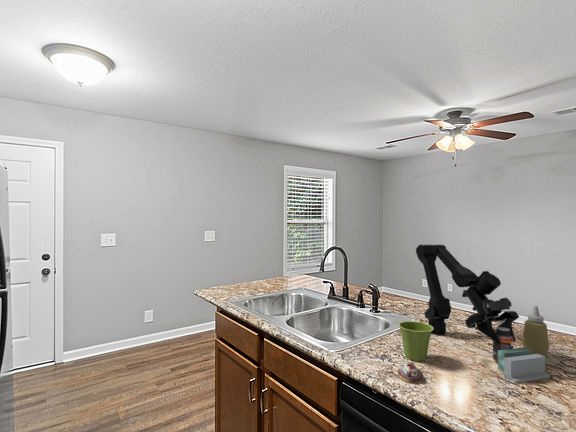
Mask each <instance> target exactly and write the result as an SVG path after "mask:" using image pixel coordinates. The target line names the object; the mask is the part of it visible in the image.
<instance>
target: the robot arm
mask: <svg viewBox="0 0 576 432" xmlns="http://www.w3.org/2000/svg"><path fill="white" fill-rule="evenodd" d="M415 253H416V256H417V259H418V260H419V261H420V263H422V265H423V269H424V273H425V278H426V283H427V286H428V291H429V300H428V308H427V309H426V310H425V311H424V317H425V319H427V320H428V323H427V324H428V325H430V326H432V327H433V328H434V329H433V331H432V332H431V335H436V336H441V337H442V336H443V337H444V336H445V334H446V333H447V322H446V320H449V319H450V315H451V313H452V306H451V302H450V299H449V298H448V297H445V296H444V295H443V291H442V286H441V282H440V279H439V274H438V271H437V270H438V269H437V266H436V261H437V258H438V259H439V260H440V262H441V263H442V264H443V265H444V267H446V268H447V269H448V271H449V272H450V273H451V278H452V280H453V281H454V284H455V286H457V287H459V288H467V289H463V290H462V291H463V293H462V294H461V295H462V296H461V297H462V298H468V300H469V301H470V303H471V304H472V306H473V307H472V310H473V312H475V311H476V313H472V314H471V315H470V316H469V317H467V318H466V319H465V325H466V326H467V328H468V329H474V328H475V330H476V331H479V332H481V333H482V334H484V335H485V336H486V337H488V338H489V339H491V340H492V342H493V341H495V342H496V343H497V344H500V343H501V342H500V339H499V337H498V336H497V334H496V330H495V329H494V327H493V322H495V323H496V322H497V323H498V324H499V325H498V326H497V327H505V328H508V329H510V335H511V336H512V337H513V340H514V343H515V342H516V337H515V334H514V330H513V325H512V324H513V322H515V321H516V320H517V319H519V318H520V315H519V314H518V313H517V311H515V310H511V307H512V305H513V304H512V302H511V300H510V299H509V298H508V297H503V298H499V299H498V300H493V299H490V298H488V295H491V294H492V293H493V292H494V291H495V290H496V289H497V288H499V287H500V286H501V285H502V284H501V283H502V282H501V280H500V279H499V277H497V276H496V275H495V274H493V273H491V272H490V271H489V270H484V271H482V272H481V274H480V275H479V276H478V275H477V274H476V273H475V272H474V271H473V270H471V269H469V268H467V267H465V266H463V265H462V264H461V263H460V262H459V260H457V258H456V257H455V256H453V254H452V253H451V252H450V251H449V249H448V248H447V247H446V246H445V245H444V244H418V245H417V247H416V249H415ZM505 310H506V311H505ZM477 312H478V313H477ZM476 324H477V325H476Z"/></svg>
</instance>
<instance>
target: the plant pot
mask: <svg viewBox="0 0 576 432" xmlns="http://www.w3.org/2000/svg"><path fill="white" fill-rule="evenodd" d="M428 324H429V323H424V322H420V321H412V320H409V321H408V320H407V321H400V322H398V325H397V326H398V327H399V330H400V334H401V339H402V346H403V353H404V356H405V357H406V358H407V359H408V360H411V361H415V362H416V361H417V362H419V361H422V362H423V361H426V360H427V359H428V357H427V356H428V352H429V351H428V350H429V345H430V339H431V336H432V334H431V332H432V331H433V329H434V328H433V327H432V326H430V325H428Z"/></svg>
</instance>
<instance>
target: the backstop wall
mask: <svg viewBox="0 0 576 432" xmlns="http://www.w3.org/2000/svg"><path fill="white" fill-rule="evenodd" d="M503 377H504V378H505V379H508V380H510V381H511V382H513V383H515V384H519V383H525V382H532V381H539V380H546V379H551V374H549V373H546V356H542V355H540V354H532V355H524V356H515V357H507V358H504V374H503Z"/></svg>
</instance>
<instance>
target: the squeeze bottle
mask: <svg viewBox="0 0 576 432" xmlns="http://www.w3.org/2000/svg"><path fill="white" fill-rule="evenodd" d="M538 306H539V305H538ZM538 306H537V305H533V306H532V311H531V313H530V314H528V315H527V320H525V321H524V324H523V331H522V332H523V333H522V340H521V344H522V346H523V347H524V348H527V349H529V350H531V355H532V354H540V355H542V356H545V357H546V356H547V354H548V352H549V350H550V341H549V333H548V325H547V324H546V322H544V317H543V316H542V315H541V314H540V310H539V307H538ZM523 347H522V348H523Z"/></svg>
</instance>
